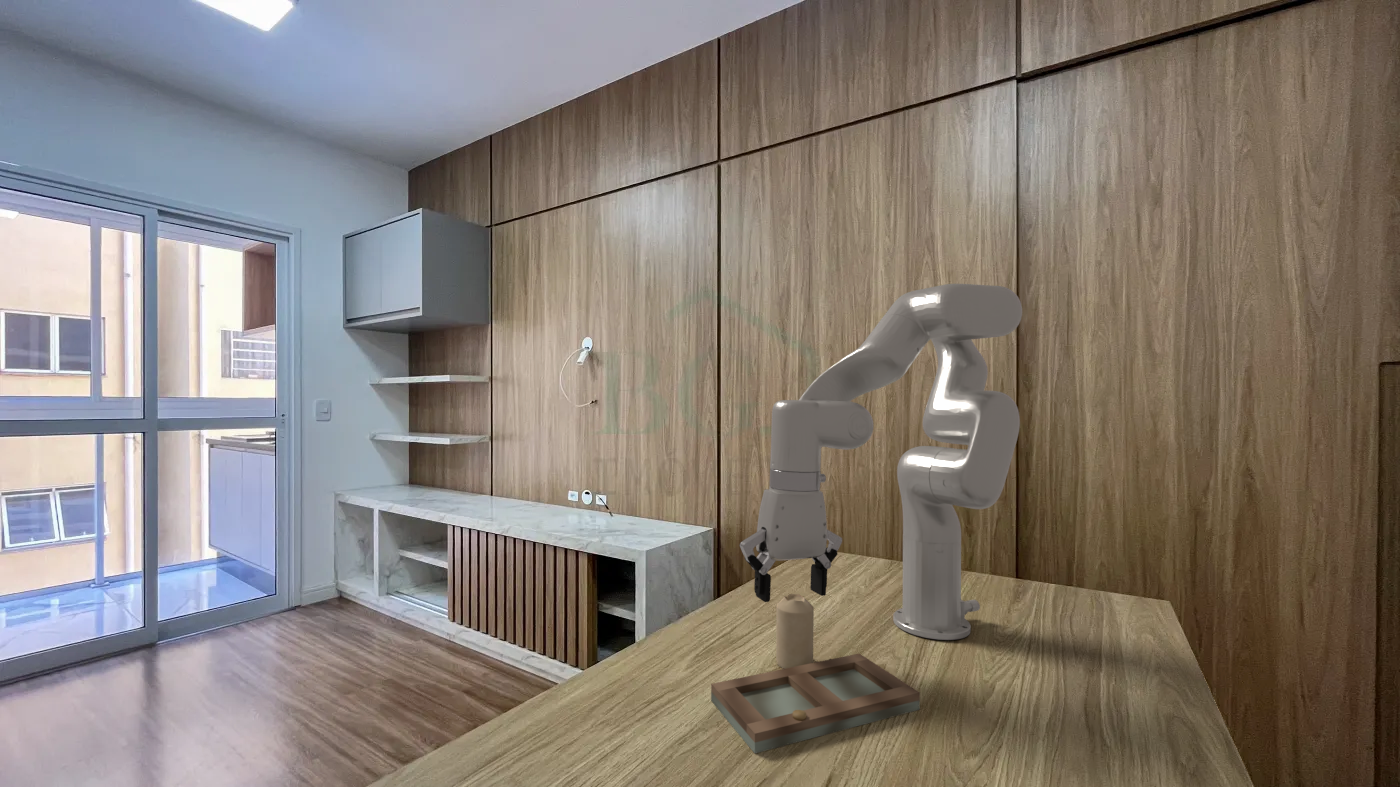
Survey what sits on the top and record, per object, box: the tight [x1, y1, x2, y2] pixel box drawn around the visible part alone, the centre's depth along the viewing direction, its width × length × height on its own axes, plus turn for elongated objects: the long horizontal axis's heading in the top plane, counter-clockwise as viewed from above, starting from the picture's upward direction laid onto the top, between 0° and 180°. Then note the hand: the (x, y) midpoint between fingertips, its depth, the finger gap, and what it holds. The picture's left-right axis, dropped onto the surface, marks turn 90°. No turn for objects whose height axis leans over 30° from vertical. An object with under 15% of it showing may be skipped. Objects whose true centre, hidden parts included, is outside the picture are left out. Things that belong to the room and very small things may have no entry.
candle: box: [775, 593, 815, 669], centre depth 85 cm, size 6×6×10 cm
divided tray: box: [710, 653, 921, 754], centre depth 74 cm, size 24×12×3 cm, turn 113°
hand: (790, 596), depth 85 cm, fingers open, 9 cm apart
